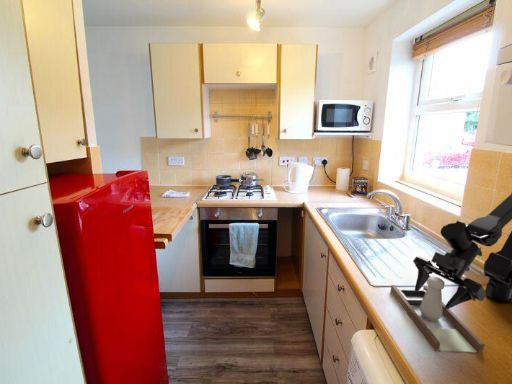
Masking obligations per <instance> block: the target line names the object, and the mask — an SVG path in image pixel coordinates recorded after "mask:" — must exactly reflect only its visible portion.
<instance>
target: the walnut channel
mask: <svg viewBox="0 0 512 384" xmlns="http://www.w3.org/2000/svg"><path fill="white" fill-rule="evenodd" d="M422 288H423V289H422V290H425V291H427V288H428V285H423V287H422ZM398 289H399V288H398V287H397V286H396V285H395V284H391V286H390V293H391V292H392V293H391V294H392V296H393V297H394V296H395V297H394V298H395V300H396V301H397V302H398V303H400V304H399V305H400V306H401V308H402V309H403V310H404V311H405V313H406V314H407V316H408V317H409V319H410V320H411V321H412V322H413V324H414V325H415V326H416V328H417V329H418V330H419V332H420V333H421V335H422V336H423V337H424V339H425V340H426V341H427V343H428V344H429V345H430V347H431V348H432V349H433V351H435V352H450V353H451V352H452V353H453V352H455V353H479V354H480V353H481V354H482V353H483V352H484V348H485V343H483V341H482V339H480V338H479V337H478V336H477V335H476V334H475V333H474V332H473V331H472V330H471V329H470V328H469V327H468V326H467V325H466V324H465V323H464V322H463V321H462V320H461V319H460V318H459V317H458V316H457V315H456V314H455V313H454V312H453V311H452V310H451V308H449V309H446V308H445V306H446V304H445V303H444V302H443V301H442V316H444V318H446V319H447V320H448V321H449V323H451V324H452V326H453V327H454V328H439V327H438V328H435V327H433V328H432V327H428V325H427V324H426V323H425V322H424V321H423V318H421V317H420V315H419V314H418V313H417V312H416V311H415V309H414V308H413V307H412V305H410V304H409V303H408V302H407V300H406V299H405V298H404V297H403V295H402V294H401V293H400V292H399V290H398Z"/></svg>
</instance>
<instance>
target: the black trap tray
mask: <svg viewBox="0 0 512 384" xmlns="http://www.w3.org/2000/svg"><path fill="white" fill-rule="evenodd" d="M397 289H398V290H399V292H400V293H401V294H402V295H403V297H404V298H405V299H406V300H407V302H408V303H409V304H410V305H411V307H412V306H414V307H415V306H418V307H420V305H421V303H422V300H423V298H424V295H425V293H426V291H425V290H423V289H419V290H418V291H415V288H413V289H411V288H397Z"/></svg>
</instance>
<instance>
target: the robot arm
mask: <svg viewBox="0 0 512 384" xmlns="http://www.w3.org/2000/svg"><path fill="white" fill-rule="evenodd" d="M511 221H512V192H511V193H510V194H509V195H507V197H506V198H505V199H504V200H502V202H500V203H499V204H498V205H497V206H496V207H495V208H494V209H493V210H491V212H489V213H488V214H487V215H485V216H483V217H482V216H481V217H478V218H476V219H474V220H472V221H471V222H469V223H468V224H466V223H465V222H463V221H461V220H456V222H451V223H447V224H445V225H443V226H442V228H441V229H440V234H441V237H442V238H443V239H444V241H445V242H446V243H447V244H448V246H449V247H450V248H451V251H450V252H446V253H444V254H442V253H440V252H437V251H435V252H434V254H433V255H432V258H431V260H429V259H427V258H426V257H423V256H421V255H418V256H416V257H415V258H414V259H413V260H412V262H413V264H414V265H415V267H416V268H417V278H416V281H415V282H416V283H415V286H414V289H415V291H418V290H422V288H423V287H424V286H425V284H427V280H428V278H429V277H431V276H430V275H431V274H435V275H436V276H439V277H441V278H443V279H445V280H446V281H449V282H451V283H453V284H455V285H457V289H456V291H455V292H454V294H453V295H452V296H451V298H450V299H449V300H448V302H447V303H446V304H445V305H446V306H445V308H446V309H451V308H453V307H455V306H458V305H460V304H463V303H466V302H469V301H473V302H475V301H479V302H483V301H484V300H485V298H486V297H488V298H490V300H492V301H493V302H494V303H497V304H512V230H511V231H510V233H509V234H508V237H507V238H506V240H505V241H504V244H503V245H502V247H501V249H500V250H498V251H496V252H493V251H492V252H490V253H489V254H488V257H487V259H486V260H485V261H484V264H483V275H484V276H485V277H487V278H488V281H487V283H486V288H485V289H484V287H483V285H482V284H481V283H479V282H478V281H475V280H473V279H471V278H469V277H466V278H464V279H462V277H463V275H464V274H465V273H466V272H469V271H470V266H471V264H472V263H473V261H474V260H475V259H476V257H477V256H478V257H482V256H483V251H482V247H481V246H479V245H478V244H480V245H482V246H485V247H492V246H494V245H495V244H497V242H498V241H499V239H500V238H501V237H502V236H503V228H504V227H505V226H507V225H508V223H510V222H511ZM433 263H434V264H435V266H434V265H433Z"/></svg>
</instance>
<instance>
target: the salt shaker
mask: <svg viewBox="0 0 512 384" xmlns="http://www.w3.org/2000/svg"><path fill="white" fill-rule="evenodd" d="M426 285H427V287H428V288H427V291H426V293H425V295H424V298H423V300H422V303H421V305H420V306H419V311H420V313H421V317H422V319H424V320H425V321H428V322H431V323H436V322H437V321H439V319H441V318H442V316H443V314H442V302H443V299H442V294H443V293H442V290H443V289H445V286H446V285H445V281H444V280H443V279H442V278H440V277H437V276H430V277H429V278H428V280H427V282H426Z"/></svg>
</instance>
